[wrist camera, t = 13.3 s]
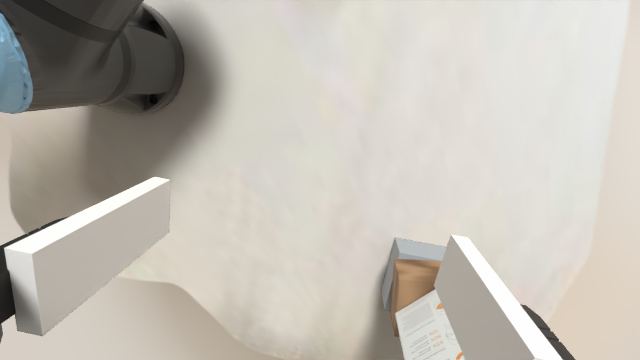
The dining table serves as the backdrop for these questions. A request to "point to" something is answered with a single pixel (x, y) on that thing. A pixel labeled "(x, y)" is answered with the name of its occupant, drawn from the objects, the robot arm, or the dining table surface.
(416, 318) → the small box
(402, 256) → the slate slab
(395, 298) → the brown wooden block
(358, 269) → the dining table surface
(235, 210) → the dining table surface
